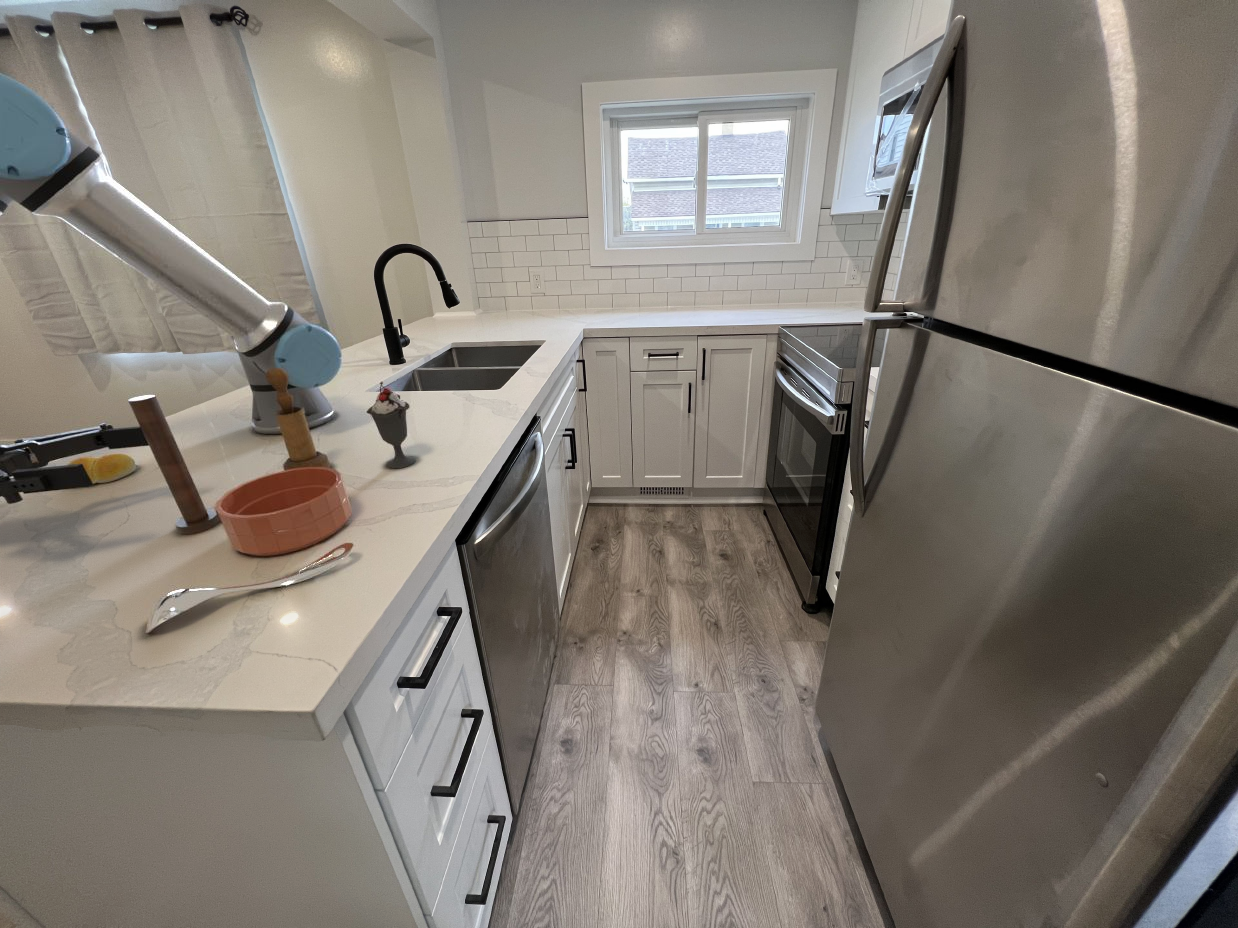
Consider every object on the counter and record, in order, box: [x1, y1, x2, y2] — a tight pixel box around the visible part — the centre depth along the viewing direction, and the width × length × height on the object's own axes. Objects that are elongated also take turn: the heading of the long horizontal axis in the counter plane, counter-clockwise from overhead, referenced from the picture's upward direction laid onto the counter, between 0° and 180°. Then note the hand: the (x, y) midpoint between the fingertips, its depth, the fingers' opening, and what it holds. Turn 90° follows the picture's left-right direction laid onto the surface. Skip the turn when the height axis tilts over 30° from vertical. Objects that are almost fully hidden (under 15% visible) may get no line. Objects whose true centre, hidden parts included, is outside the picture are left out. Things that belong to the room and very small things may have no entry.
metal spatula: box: [145, 542, 355, 634], centre depth 55 cm, size 20×4×5 cm
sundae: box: [365, 381, 417, 470], centre depth 84 cm, size 7×7×15 cm
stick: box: [127, 394, 221, 536], centre depth 66 cm, size 5×5×19 cm
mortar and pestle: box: [266, 368, 332, 471], centre depth 81 cm, size 7×6×18 cm
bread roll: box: [67, 453, 137, 485], centre depth 86 cm, size 8×9×4 cm
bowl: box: [214, 467, 352, 557], centre depth 67 cm, size 14×14×6 cm
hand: (126, 453), depth 64 cm, fingers open, 13 cm apart
